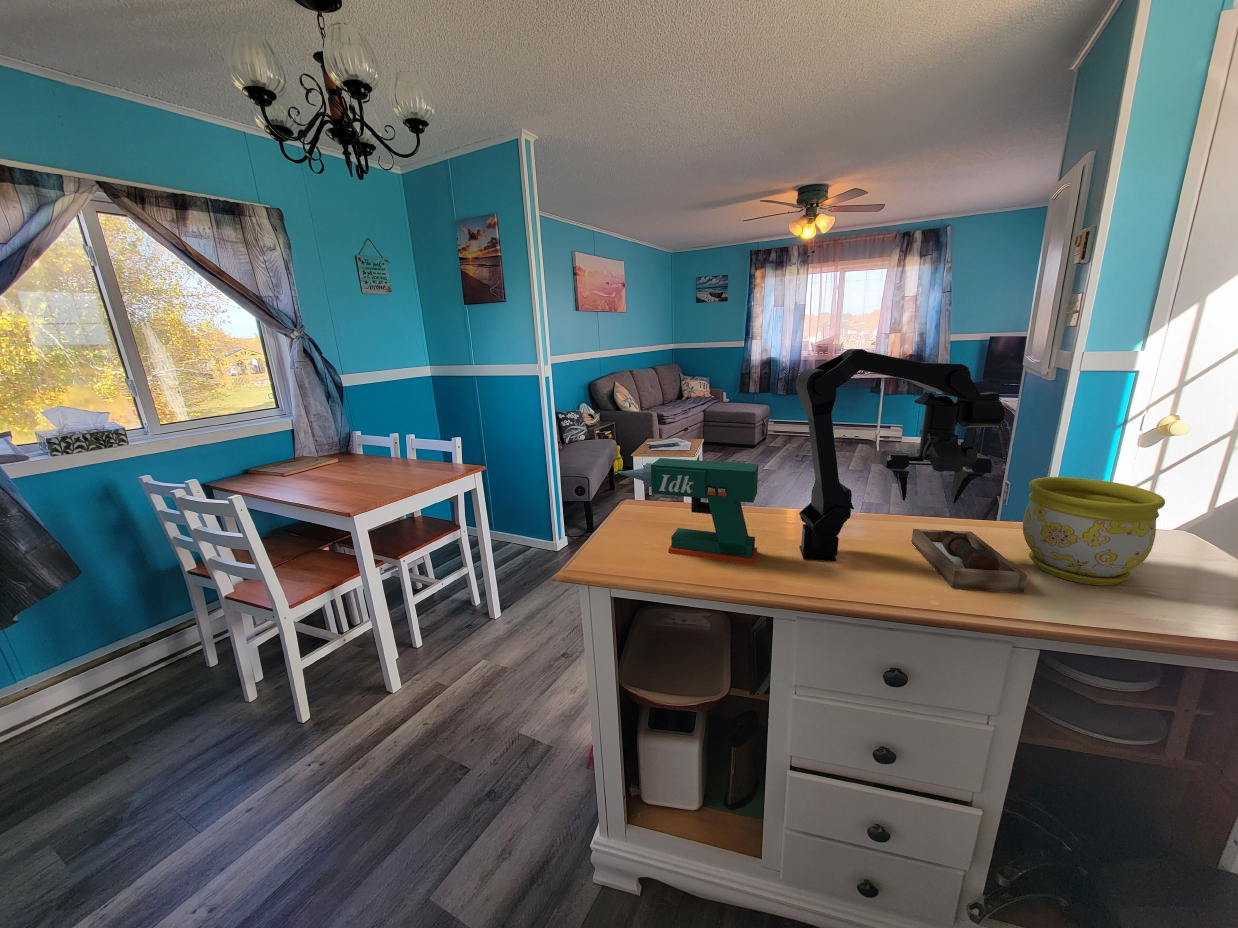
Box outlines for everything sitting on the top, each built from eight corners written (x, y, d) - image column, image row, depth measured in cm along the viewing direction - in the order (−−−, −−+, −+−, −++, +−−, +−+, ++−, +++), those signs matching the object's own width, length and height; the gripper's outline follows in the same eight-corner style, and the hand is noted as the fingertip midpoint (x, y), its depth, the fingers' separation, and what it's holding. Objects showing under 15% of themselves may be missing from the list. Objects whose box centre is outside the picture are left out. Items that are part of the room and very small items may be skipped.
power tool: (611, 546, 110) (608, 462, 106) (622, 535, 117) (620, 455, 112) (753, 565, 99) (757, 472, 94) (757, 552, 105) (760, 464, 100)
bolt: (948, 553, 102) (985, 584, 88) (927, 541, 103) (960, 570, 88) (967, 531, 101) (1007, 560, 86) (945, 519, 101) (981, 546, 87)
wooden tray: (952, 588, 87) (954, 570, 86) (911, 543, 107) (913, 528, 106) (1024, 593, 85) (1027, 575, 84) (968, 546, 104) (971, 531, 103)
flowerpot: (1122, 561, 95) (1141, 482, 91) (1162, 603, 80) (1187, 511, 76) (1008, 544, 104) (1021, 472, 100) (1024, 579, 89) (1040, 496, 85)
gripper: (899, 432, 90) (889, 511, 94) (1015, 436, 85) (999, 518, 89) (883, 423, 100) (874, 494, 104) (985, 426, 96) (972, 499, 100)
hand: (927, 501), depth 99 cm, fingers open, 9 cm apart
